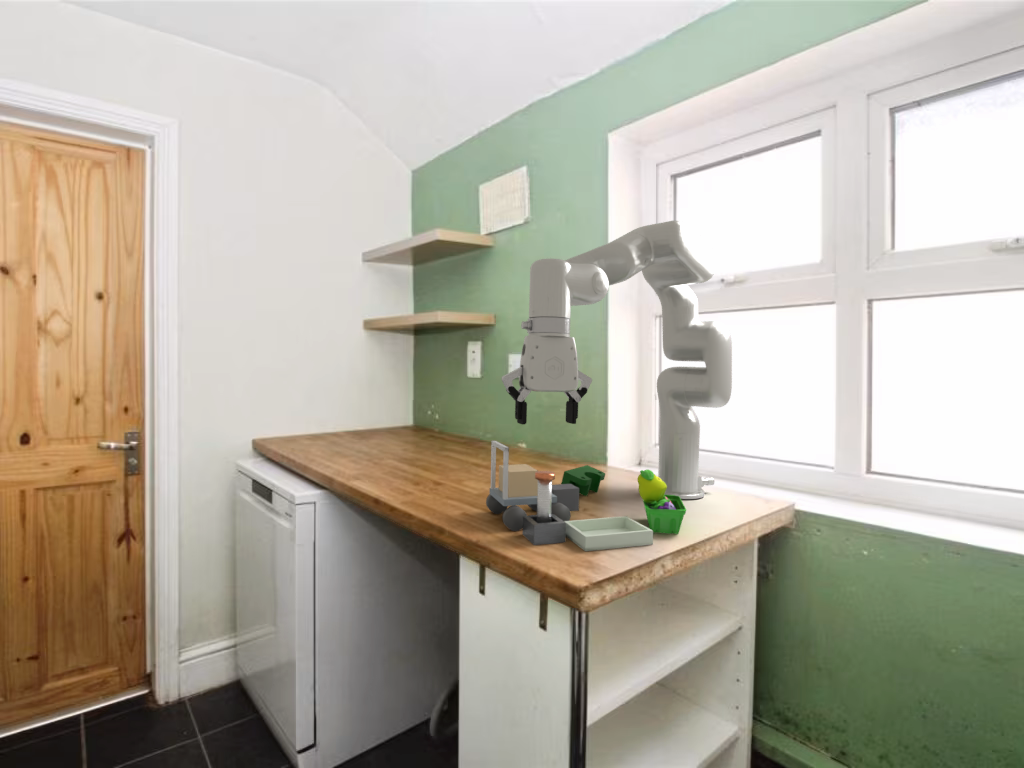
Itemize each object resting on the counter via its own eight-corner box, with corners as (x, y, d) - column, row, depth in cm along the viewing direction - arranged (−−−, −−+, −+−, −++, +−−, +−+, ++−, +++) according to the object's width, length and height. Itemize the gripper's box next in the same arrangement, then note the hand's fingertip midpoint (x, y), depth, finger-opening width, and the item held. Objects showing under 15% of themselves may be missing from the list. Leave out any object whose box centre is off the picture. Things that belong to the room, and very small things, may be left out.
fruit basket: (686, 537, 99) (688, 477, 98) (637, 533, 100) (639, 474, 100) (678, 519, 110) (680, 465, 109) (634, 516, 111) (636, 463, 111)
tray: (625, 528, 103) (626, 516, 103) (652, 544, 94) (653, 530, 94) (563, 534, 99) (563, 521, 99) (585, 551, 90) (585, 536, 90)
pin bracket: (552, 531, 100) (552, 513, 100) (565, 542, 94) (565, 522, 94) (522, 534, 98) (522, 515, 98) (533, 545, 92) (534, 525, 92)
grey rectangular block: (570, 505, 119) (570, 483, 119) (578, 511, 115) (579, 488, 115) (545, 507, 118) (545, 485, 117) (553, 512, 113) (553, 489, 113)
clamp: (580, 514, 128) (580, 484, 124) (560, 504, 132) (559, 475, 127) (606, 488, 136) (607, 459, 131) (586, 479, 139) (587, 451, 135)
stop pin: (549, 534, 99) (550, 470, 98) (556, 540, 95) (558, 474, 95) (530, 536, 97) (532, 471, 97) (537, 542, 94) (539, 475, 94)
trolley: (544, 508, 117) (546, 437, 116) (570, 526, 104) (572, 447, 103) (485, 512, 112) (487, 439, 112) (505, 532, 99) (506, 449, 99)
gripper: (510, 325, 90) (507, 426, 90) (601, 330, 95) (598, 425, 96) (497, 328, 97) (495, 421, 97) (583, 332, 102) (580, 420, 103)
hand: (546, 423), depth 96 cm, fingers open, 9 cm apart
